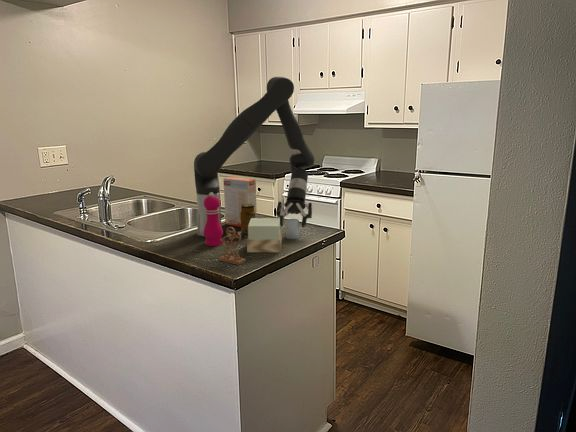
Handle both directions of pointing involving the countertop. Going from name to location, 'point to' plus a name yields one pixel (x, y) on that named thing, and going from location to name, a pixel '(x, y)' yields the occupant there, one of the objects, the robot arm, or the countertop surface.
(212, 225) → the pepper mill
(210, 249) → the countertop surface
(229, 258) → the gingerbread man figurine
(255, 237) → the sage top block
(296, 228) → the blue round block
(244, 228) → the condiment
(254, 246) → the maple base block
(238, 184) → the cracker box
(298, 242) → the countertop surface
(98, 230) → the countertop surface
